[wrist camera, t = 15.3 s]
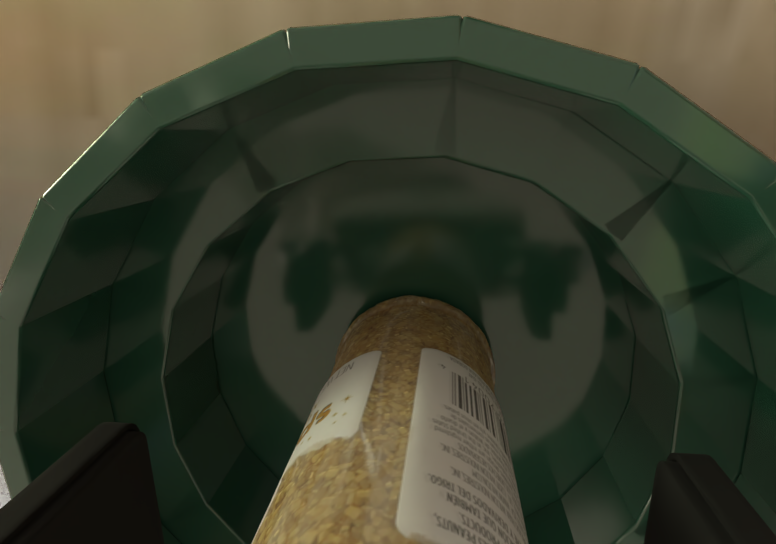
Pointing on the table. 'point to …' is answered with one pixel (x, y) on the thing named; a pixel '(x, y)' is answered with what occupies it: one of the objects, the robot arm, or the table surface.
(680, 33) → the table surface
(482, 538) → the sprinkles bottle
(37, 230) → the green round dish
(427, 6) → the table surface
